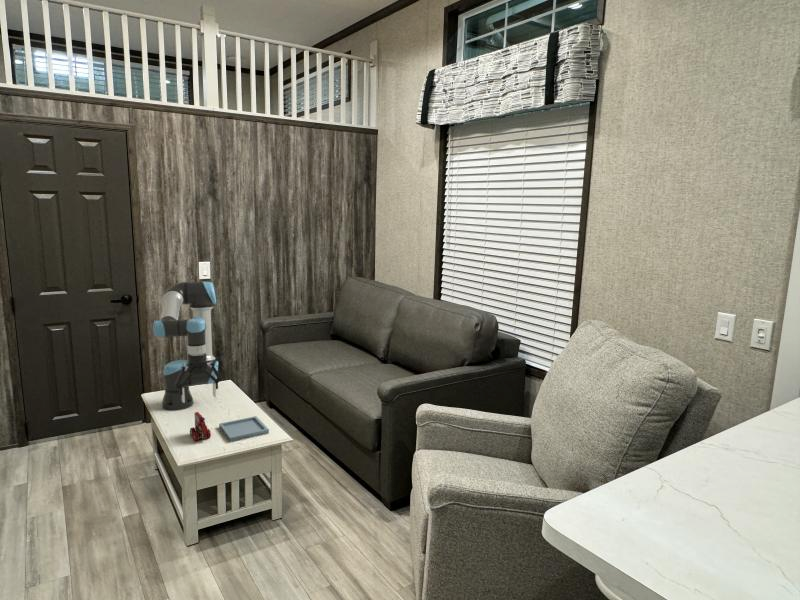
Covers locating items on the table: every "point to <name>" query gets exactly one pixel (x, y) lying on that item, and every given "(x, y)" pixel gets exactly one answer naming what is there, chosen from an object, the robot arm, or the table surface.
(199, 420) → the toy fire truck
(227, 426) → the tray
